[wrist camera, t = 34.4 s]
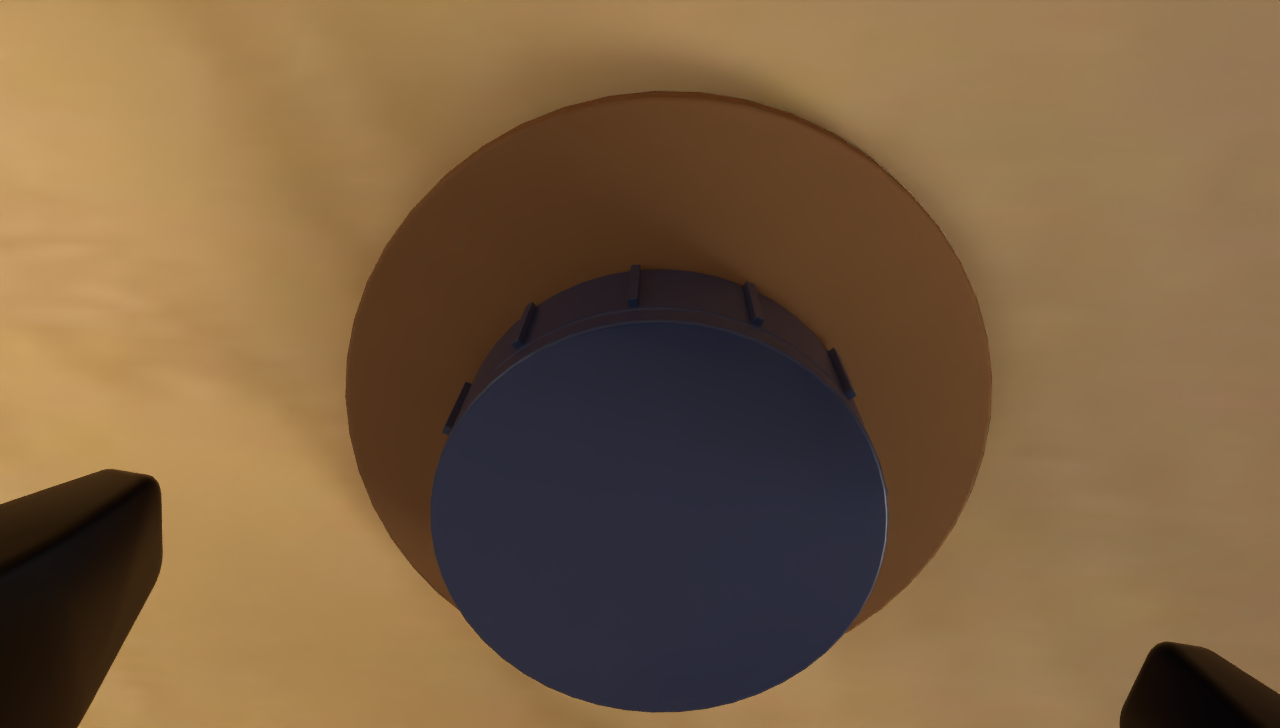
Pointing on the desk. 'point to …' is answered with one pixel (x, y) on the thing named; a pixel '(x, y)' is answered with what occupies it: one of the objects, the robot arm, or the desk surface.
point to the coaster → (687, 241)
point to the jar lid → (659, 494)
